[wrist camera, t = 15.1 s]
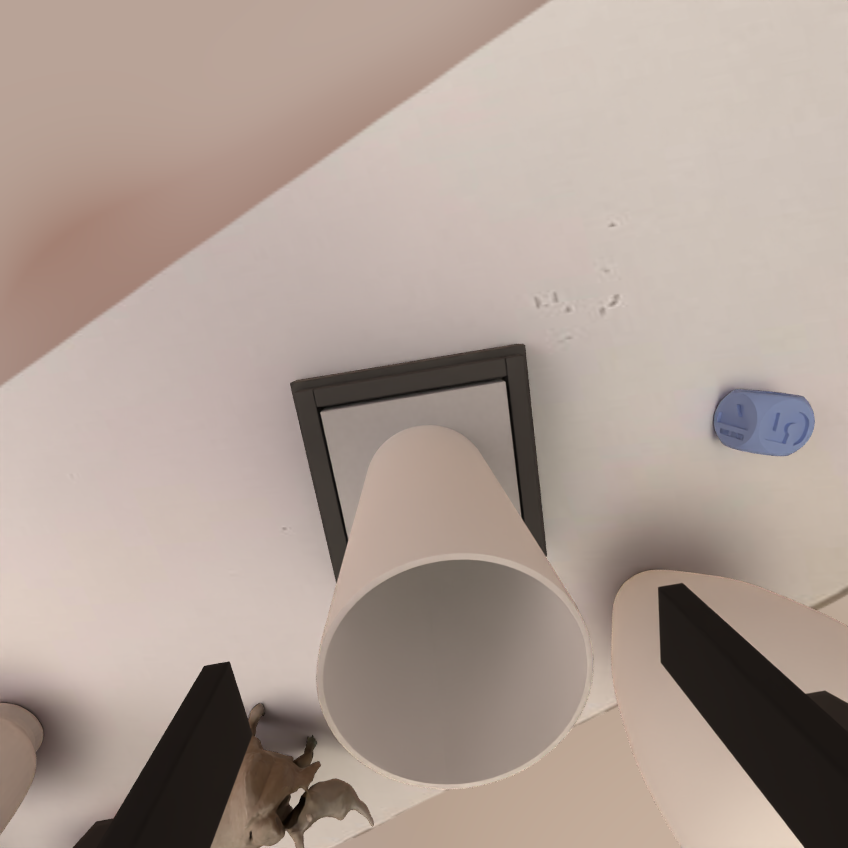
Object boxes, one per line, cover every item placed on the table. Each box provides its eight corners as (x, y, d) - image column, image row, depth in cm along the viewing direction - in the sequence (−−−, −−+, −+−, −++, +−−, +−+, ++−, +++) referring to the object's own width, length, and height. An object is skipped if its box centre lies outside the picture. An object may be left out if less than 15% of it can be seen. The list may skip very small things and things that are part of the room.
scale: (295, 380, 29) (283, 385, 26) (518, 343, 29) (531, 344, 26) (341, 580, 33) (335, 604, 30) (540, 546, 33) (554, 567, 30)
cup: (494, 427, 27) (615, 556, 11) (482, 543, 29) (574, 791, 13) (367, 421, 27) (315, 546, 11) (363, 538, 28) (313, 791, 13)
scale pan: (324, 407, 28) (319, 412, 26) (500, 378, 28) (505, 381, 26) (359, 566, 30) (356, 578, 29) (519, 539, 31) (525, 549, 29)
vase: (671, 479, 32) (2197, 1312, 5) (758, 603, 35) (2032, 1574, 8) (522, 587, 34) (1044, 1705, 6) (617, 698, 36) (1265, 1804, 9)
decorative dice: (719, 388, 31) (765, 395, 27) (770, 390, 31) (823, 399, 27) (708, 440, 32) (751, 455, 28) (758, 442, 32) (807, 457, 28)
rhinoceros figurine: (105, 766, 32) (111, 984, 21) (270, 644, 40) (343, 754, 28) (152, 827, 35) (181, 1053, 23) (299, 702, 42) (378, 824, 30)
